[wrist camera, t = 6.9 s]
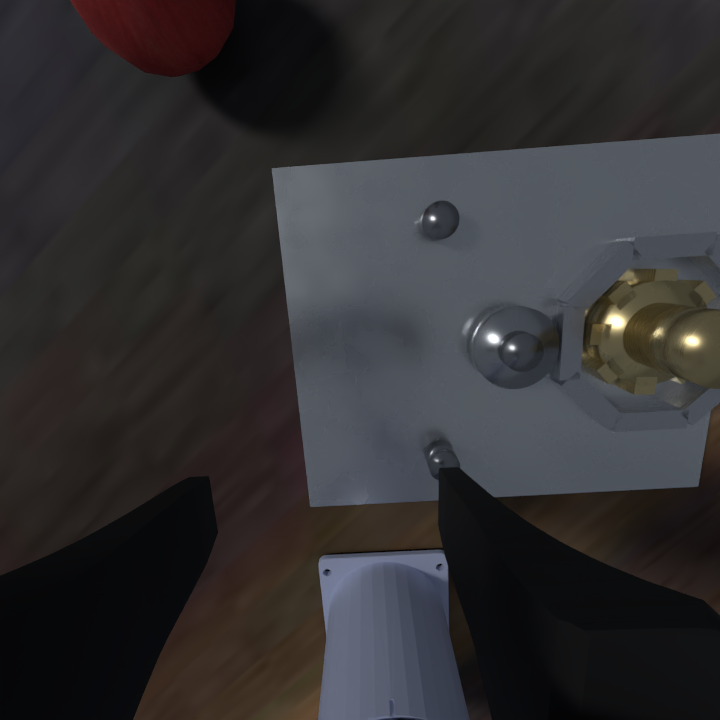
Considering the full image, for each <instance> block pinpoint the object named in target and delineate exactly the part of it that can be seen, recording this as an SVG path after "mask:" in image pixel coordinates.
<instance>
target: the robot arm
mask: <svg viewBox="0 0 720 720" xmlns="http://www.w3.org/2000/svg"><path fill="white" fill-rule="evenodd" d="M438 525H439V530H440V535H441V540H442V545H443V550H444V551H443V550H419V551H399V552H378V553H358V554H337V555H324V556H322V557H321V558H320V559H319V574H320V583H321V592H322V601H323V610H324V619H325V628H326V636H327V637H326V647H325V657H324V667H323V676H322V686H321V696H320V706H319V716H318V720H469V716H468V712H467V707H466V703H465V699H464V694H463V690H462V686H461V681H460V677H459V673H458V668H457V664H456V660H455V655H454V651H453V647H452V642H451V638H450V634H449V590H448V567H449V570H450V573H451V576H452V579H453V582H454V585H455V588H456V591H457V594H458V597H459V600H460V603H461V605H462V608H463V611H464V614H465V617H466V620H467V623H468V626H469V629H470V632H471V636H472V639H473V642H474V646H475V649H476V654H477V658H478V662H479V666H480V670H481V674H482V678H483V683H484V687H485V691H486V695H487V700H488V704H489V708H490V713H491V717H492V720H720V615H719V614H718V613H717V612H716V611H715V610H714V609H712V608H711V607H710V606H709V605H708V604H707V603H706V602H705V601H704V600H701V599H698V598H695V597H692V596H689V595H686V594H683V593H680V592H677V591H674V590H672V589H669V588H666V587H663V586H660V585H657V584H654V583H651V582H648V581H646V580H643V579H640V578H638V577H635V576H633V575H631V574H628V573H626V572H623V571H621V570H618V569H616V568H613V567H611V566H609V565H607V564H604V563H602V562H600V561H598V560H596V559H593V558H591V557H589V556H587V555H585V554H583V553H581V552H579V551H577V550H575V549H573V548H571V547H569V546H568V545H566V544H564V543H562V542H560V541H558V540H557V539H555V538H553V537H552V536H550V535H548V534H546V533H545V532H543V531H541V530H540V529H538V528H536V527H535V526H533V525H532V524H530V523H529V522H527V521H526V520H524V519H523V518H521V517H520V516H519V515H517V514H516V513H514V512H513V511H512V510H510V509H509V508H507V507H506V506H505V505H503V504H502V503H501V502H500V501H498V500H497V499H496V498H494V497H493V496H492V495H491V494H490V493H488V492H487V491H486V490H485V489H483V488H482V487H481V486H480V485H479V484H478V483H476V482H475V481H474V480H473V479H472V478H471V477H470V476H468V475H467V474H466V473H465V472H464V471H463V470H461V469H460V468H459V467H448V468H439V505H438ZM217 534H218V530H217V524H216V518H215V511H214V505H213V499H212V493H211V487H210V480H209V476H204V477H189V478H187V479H185V480H183V481H181V482H179V483H177V484H175V485H174V486H172V487H170V488H169V489H167V490H165V491H164V492H162V493H160V494H159V495H157V496H156V497H154V498H152V499H151V500H149V501H147V502H146V503H144V504H142V505H141V506H139V507H138V508H136V509H134V510H133V511H131V512H129V513H128V514H126V515H124V516H122V517H121V518H119V519H117V520H115V521H114V522H112V523H110V524H108V525H107V526H105V527H103V528H101V529H100V530H98V531H96V532H94V533H92V534H90V535H89V536H87V537H85V538H83V539H81V540H79V541H77V542H75V543H73V544H71V545H69V546H67V547H65V548H63V549H61V550H59V551H57V552H54V553H52V554H50V555H48V556H46V557H44V558H41V559H39V560H37V561H34V562H32V563H30V564H27V565H25V566H22V567H20V568H18V569H15V570H13V571H11V572H8V573H6V574H4V575H1V576H0V720H133V718H134V716H135V713H136V710H137V708H138V705H139V703H140V700H141V698H142V695H143V693H144V690H145V688H146V686H147V683H148V681H149V678H150V676H151V674H152V671H153V669H154V667H155V664H156V662H157V659H158V657H159V655H160V653H161V651H162V649H163V646H164V644H165V642H166V640H167V638H168V636H169V634H170V632H171V631H172V629H173V627H174V625H175V623H176V621H177V619H178V617H179V615H180V614H181V612H182V610H183V608H184V606H185V604H186V602H187V600H188V598H189V597H190V595H191V593H192V591H193V589H194V587H195V585H196V583H197V581H198V579H199V577H200V575H201V574H202V572H203V570H204V568H205V566H206V564H207V561H208V558H209V556H210V553H211V551H212V548H213V545H214V542H215V539H216V536H217ZM438 564H442V565H441V566H437V565H438ZM326 569H329V570H330V571H325V570H326Z"/></svg>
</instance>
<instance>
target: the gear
mask: <svg viewBox="0 0 720 720" xmlns="http://www.w3.org/2000/svg"><path fill="white" fill-rule="evenodd" d="M678 270H679V269H635V272H634V278H633V280H632V281H628V282H626V281H616V282H615V283H614V284H613V285H612V286H611V287H610V288H609V289H608V290H607V291H606V292H605V293H604V294H603V295H602V296H601V297H599V298H598V299H597V300H596V301H597V304H596V305H595V306H594V308H593V309H592V311H591V313H590V315H589V317H588V320H585V321H584V334H583V343H585V344H586V349H587V351H588V354H589V357H588V358H587V359H585V360H584V361H583V362H582V363H581V364H582V365H583V366H584V367H585V368H586V369H587V371H588V372H589V373H590V374H591V375H592V376H593V377H595V378H597V379H599V380H601V381H603V382H605V383H607V384H611V383H612V382H613V381H614V380H615V379H617V380H616V386H617V387H619V388H621V389H623V390H625V391H627V392H629V393H631V394H633V395H654V393H655V388H656V384H658V383H662V382H665V381H668V380H672V381H675V382H678V383H680V384H684V383H685V382H686V381H689V382H692V383H695V384H697V385H700V386H703V387H706V388H711V389H720V310H718V309H710V308H707V306H706V305H707V304H708V303H709V302H710V301H712V300H713V299H714V298H715V297H716V295H715V294H714V292H713V291H712V290H711V288H710V287H709V286H708V285H707V283H706V282H705V281H700V280H679V281H677V282H676V280H677V275H678Z"/></svg>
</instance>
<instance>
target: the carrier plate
mask: <svg viewBox="0 0 720 720" xmlns="http://www.w3.org/2000/svg"><path fill="white" fill-rule="evenodd" d="M272 174H273V183H274V192H275V201H276V209H277V218H278V227H279V236H280V245H281V253H282V262H283V271H284V280H285V289H286V297H287V306H288V315H289V324H290V332H291V341H292V350H293V359H294V368H295V376H296V385H297V394H298V403H299V412H300V420H301V429H302V438H303V447H304V456H305V464H306V473H307V482H308V491H309V500H310V507H319V506H338V505H357V504H376V503H395V502H414V501H433V500H439V468H448V467H459V468H460V469H461V470H463V471H464V472H465V473H466V474H467V475H468V476H470V477H471V478H472V479H473V480H474V481H475V482H476V483H478V484H479V485H480V486H481V487H482V488H483V489H485V490H486V491H487V492H488V493H490V494H491V495H492V496H493V497H509V496H528V495H547V494H567V493H586V492H605V491H624V490H643V489H662V488H681V487H698V485H699V479H700V473H701V467H702V461H703V455H704V449H705V443H706V437H707V431H708V426H709V420H710V414H711V410H712V409H713V408H714V407H715V406H717V405H718V404H719V403H720V389H711V388H706V387H703V386H700V385H697V384H695V383H692V382H689V381H686V382H685V383H684V384H680V383H678V382H675V381H672V380H668V381H665V382H662V383H658V384H656V388H655V393H654V395H633V394H631V393H629V392H627V391H625V390H623V389H621V388H619V387H617V386H616V380H617V379H615V380H614V381H613V382H612V383H611V384H607V383H605V382H603V381H601V380H599V379H597V378H595V377H593V376H592V375H591V374H590V373H589V372H588V371H587V369H586V368H585V367H584V366H583V365H582V364H581V363H582V362H583V361H584V360H585V359H587V358H588V357H589V354H588V351H587V349H586V344H585V343H583V334H584V321H585V320H588V317H589V315H590V313H591V311H592V309H593V308H594V306H595V305H596V304H597V301H596V300H597V299H598V298H599V297H601V296H602V295H603V294H604V293H605V292H606V291H607V290H608V289H609V288H610V287H611V286H612V285H613V284H614V283H615V282H616V281H626V282H628V281H632V280H633V278H634V272H635V269H679V270H678V275H677V280H676V282H677V281H679V280H700V281H705V282H706V283H707V285H708V286H709V287H710V288H711V290H712V291H713V292H714V294H715V295H716V297H715V298H714V299H713V300H712V301H710V302H709V303H708V304H707V305H706V306H707V308H710V309H718V310H720V134H711V135H698V136H685V137H672V138H659V139H646V140H633V141H620V142H607V143H594V144H581V145H568V146H555V147H542V148H529V149H516V150H503V151H490V152H477V153H465V154H452V155H439V156H426V157H413V158H400V159H387V160H374V161H361V162H348V163H335V164H322V165H309V166H296V167H283V168H272Z"/></svg>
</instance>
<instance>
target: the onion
mask: <svg viewBox="0 0 720 720" xmlns="http://www.w3.org/2000/svg"><path fill="white" fill-rule="evenodd" d="M70 1H71V3H72V4H73V6H74V7H75V9H76V10H77V12H78V13H79V14H80V16H81V17H82V19H83V20H84V22H85V23H86V25H87V26H88V28H89V29H90V31H91V32H92V33H93V34H94V35H95V36H96V37H97V39H98V40H99V41H100V42H101V43H102V44H103V45H104V46H105V47H107V48H108V49H110V50H111V51H113V52H114V53H116V54H117V55H119V56H120V57H122V58H123V59H125V60H126V61H128V62H129V63H131V64H133V65H134V66H136V67H137V68H139V69H140V70H142V71H143V72H146V73H152V74H158V75H163V76H169V77H176V76H181V75H185V74H188V73H192V72H196V71H199V70H200V69H202V68H203V67H204V66H206V65H207V64H208V63H209V62H211V61H212V60H213V59H215V58H216V57H217V56H218V54H219V53H220V51H221V49H222V47H223V46H224V44H225V42H226V40H227V38H228V37H229V35H230V33H231V31H232V30H233V27H234V17H235V7H236V0H70Z"/></svg>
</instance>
